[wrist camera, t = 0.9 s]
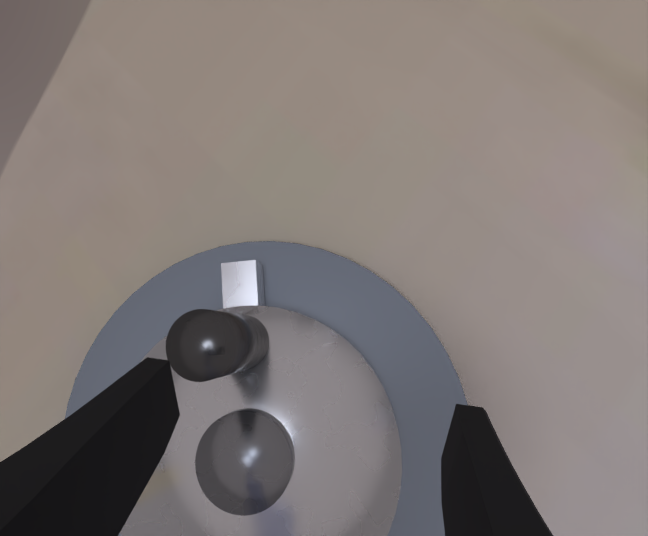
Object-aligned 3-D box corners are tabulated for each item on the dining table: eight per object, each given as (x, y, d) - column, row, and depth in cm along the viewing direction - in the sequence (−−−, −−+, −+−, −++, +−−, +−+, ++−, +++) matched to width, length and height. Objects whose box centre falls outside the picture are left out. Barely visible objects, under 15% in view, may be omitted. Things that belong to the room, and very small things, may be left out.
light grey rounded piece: (416, 604, 23) (435, 731, 16) (122, 610, 25) (14, 728, 17) (380, 252, 26) (382, 219, 18) (119, 278, 27) (25, 257, 20)
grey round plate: (497, 664, 24) (521, 730, 20) (76, 667, 26) (23, 726, 22) (442, 227, 27) (453, 209, 24) (78, 265, 30) (33, 254, 26)
